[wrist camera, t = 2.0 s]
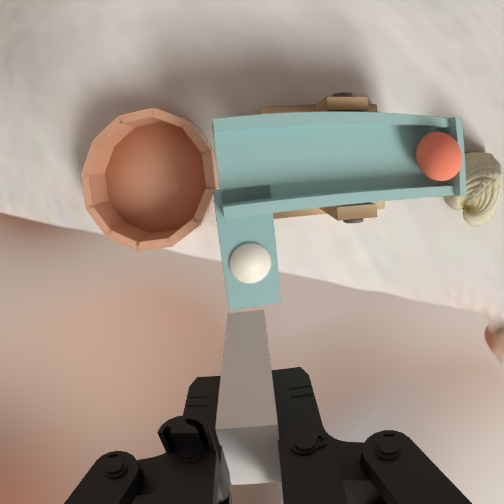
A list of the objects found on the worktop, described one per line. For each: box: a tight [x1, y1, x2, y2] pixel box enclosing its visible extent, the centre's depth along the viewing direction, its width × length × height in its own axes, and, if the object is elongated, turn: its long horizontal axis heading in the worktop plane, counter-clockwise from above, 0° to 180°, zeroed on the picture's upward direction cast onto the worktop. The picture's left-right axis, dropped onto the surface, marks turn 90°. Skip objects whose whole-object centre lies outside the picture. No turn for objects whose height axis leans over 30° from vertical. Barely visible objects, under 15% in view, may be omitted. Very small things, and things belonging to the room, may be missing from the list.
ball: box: [416, 132, 462, 181], centre depth 21 cm, size 4×4×4 cm
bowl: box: [81, 108, 219, 251], centre depth 29 cm, size 13×13×4 cm
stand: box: [260, 93, 385, 223], centre depth 26 cm, size 11×12×9 cm
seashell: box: [444, 152, 503, 226], centre depth 29 cm, size 8×8×8 cm
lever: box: [212, 112, 466, 310], centre depth 23 cm, size 14×20×3 cm
